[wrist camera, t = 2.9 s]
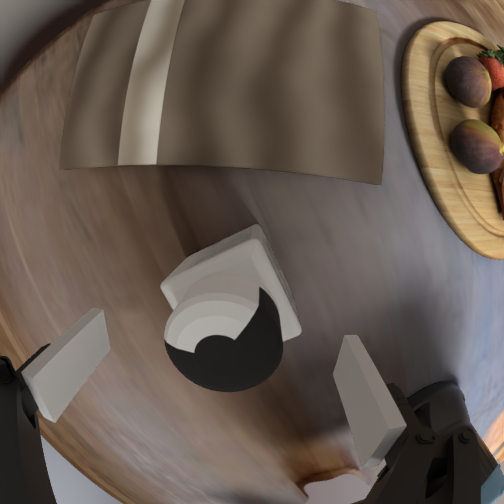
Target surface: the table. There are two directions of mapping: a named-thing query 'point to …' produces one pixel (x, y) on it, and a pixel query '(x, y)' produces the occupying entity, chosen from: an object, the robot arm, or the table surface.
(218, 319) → the container
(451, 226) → the wooden plate with food
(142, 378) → the table surface
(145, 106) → the board
